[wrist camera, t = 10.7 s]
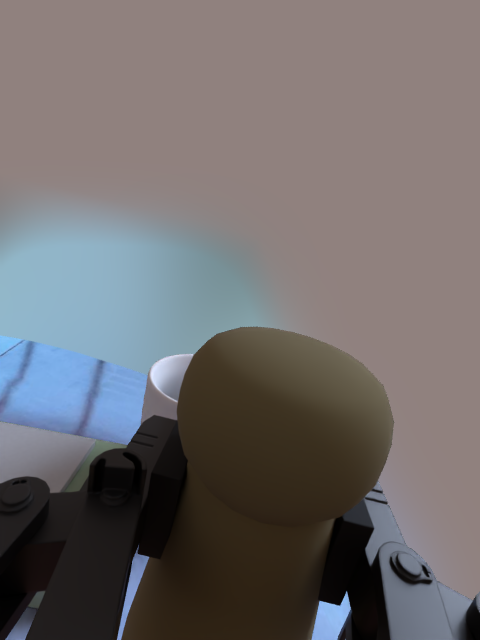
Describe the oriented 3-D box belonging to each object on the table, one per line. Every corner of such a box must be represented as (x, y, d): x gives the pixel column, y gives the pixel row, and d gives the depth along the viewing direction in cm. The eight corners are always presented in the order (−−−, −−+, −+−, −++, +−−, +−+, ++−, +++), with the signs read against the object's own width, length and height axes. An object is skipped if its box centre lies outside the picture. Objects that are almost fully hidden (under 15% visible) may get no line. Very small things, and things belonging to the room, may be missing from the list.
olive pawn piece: (261, 884, 7) (474, 490, 4) (69, 687, 9) (106, 331, 6) (316, 609, 12) (423, 354, 9) (188, 526, 14) (240, 296, 11)
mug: (243, 443, 43) (267, 355, 39) (282, 514, 33) (318, 408, 29) (127, 453, 36) (142, 350, 33) (134, 544, 27) (155, 414, 23)
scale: (133, 464, 35) (137, 440, 34) (65, 613, 22) (68, 579, 21) (-13, 437, 34) (-14, 411, 33) (-179, 574, 21) (-187, 537, 20)
